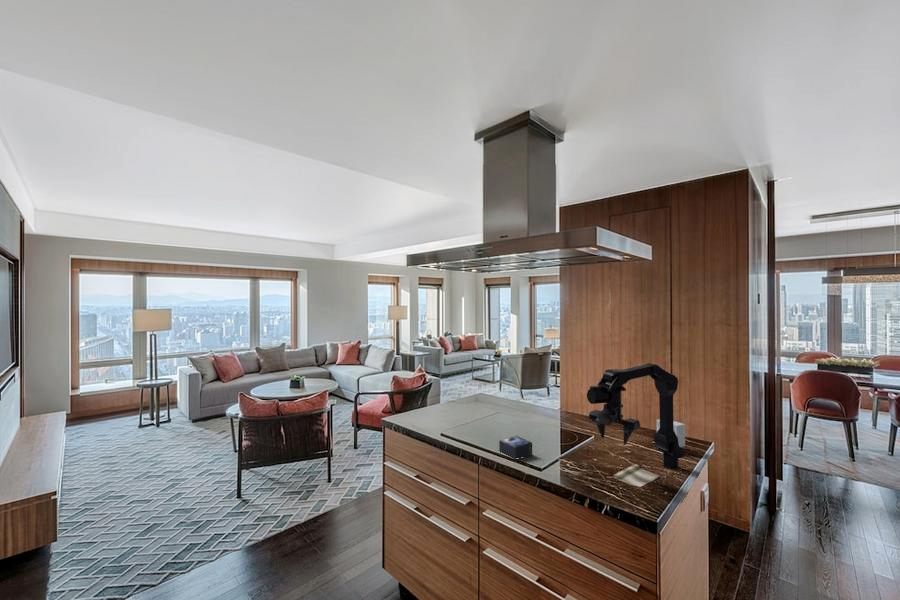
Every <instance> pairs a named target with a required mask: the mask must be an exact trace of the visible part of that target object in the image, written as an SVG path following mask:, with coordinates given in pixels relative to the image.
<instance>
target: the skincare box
mask: <svg viewBox="0 0 900 600" xmlns="http://www.w3.org/2000/svg"><path fill="white" fill-rule="evenodd" d="M659 428H660V418H659V419H656V432H657V431H658V430H659ZM673 428H674V432H675V434H676V436H677V437H678V442H679V446H680V447H681V448H683V447H686V424H685V423H682V422H679V421H674V420H673Z"/></svg>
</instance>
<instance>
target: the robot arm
mask: <svg viewBox="0 0 900 600" xmlns="http://www.w3.org/2000/svg"><path fill="white" fill-rule="evenodd" d="M648 376H649V377H650V378H651V379H652V380H653V381H654V386H655V389H656V391H657V392H658V395H659V396H658V397H659V398H658V401H659V419H660V428H659V430H658V431H657V430H656V431H654V433H653V435H654V437H653V438H654V439H653V442H654V444H655V446H656V447H657V450H658V451H660V452H661V453H662V465H663V468H666V469H668V470H672V469H673V470H674V469H679V468H680V469H683V467H681V466H680V459H682V458H684V457H685V454H686V451H685V450H684V449H683V447H680V446H679V442H678V437H677V436H676V434H675V432H674V428H673V421H674V395H675V394H676V392H677V390H678V386H679V379H678V377H677V376H676V375H674V374H671V373H670V372H668V371H666V370H665V369H663V368H662V367H660V366H659V365H658V364H654V363H651V362H647V363H645V364H642V365H637V366H633V367H629V368H624V369H618V368H617V369H616V368H610V369H609V368H608V369H606V370H604V372H603V374H602V377H601V378H600V379H599V381H598V383H597V385H590V386H589V389H588V390H587V393H586V399H587V401H588V403H589V404H591V405H596V404H598V405H599V404H603V409H602V410H598V409H595V410H592V411H589V413H588V419H589V420H591V422H593V423H594V424H595V425H596V426H597V429H598V432H599V434H600V437H601V439H604V438H605V433H606V426H611V424H612V423H614V424H620V425H622V427H623V428H622V431H623V446H626V445H627V443H628V442H629V439H630V437H631V435H632V433H633V432H634V431H637V430H638V429H640V428H641V422H640V420H638V419H635V418H630V417H629V418H627V419H624V415H623V414H622V409H623V408H624V404H622V392H626V391H627V388H626V387H625V386H624V385H626V384H627V383H628V382H629V381H632V380H636V379H641V378H644V377H648Z"/></svg>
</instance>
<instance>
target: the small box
mask: <svg viewBox="0 0 900 600" xmlns="http://www.w3.org/2000/svg"><path fill="white" fill-rule="evenodd" d="M498 443H499V444H498V445H499V446H498V447H499V451H500V452H502V453H504V454H506V455H508V456H510V457H512V458H514V459H516V458H521V457H526V458H529V457H528V456H530V457H532V456H533V442H531V441H530V440H527V439H525V438H523V437H520V436H518V435H514V436H510V437H507V438H504V439H500V440H499V441H498Z"/></svg>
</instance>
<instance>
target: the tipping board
mask: <svg viewBox="0 0 900 600" xmlns="http://www.w3.org/2000/svg"><path fill="white" fill-rule="evenodd" d="M660 477H661V476H660V475H658V474H657V473H654V472H651V471H649V470H645V469H643V468H640V467H639V464H636V463H634V464H632V465H630V466H629V467H627V468H624V469H623V470H621V471H618V472H616V473H614V474H613V479H615V480H617V481H620V482H623V483H625V484H628V485H632V486H634V487H639V488H640V487H643V486H646V485H647V484H650V483H651V482H653V481H655V480H656V479H658V478H660Z"/></svg>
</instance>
